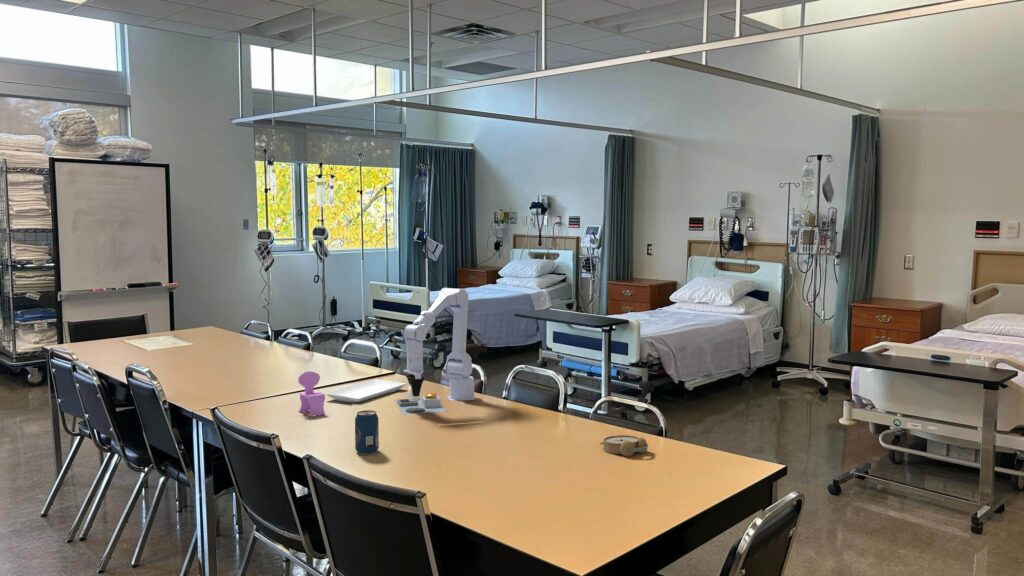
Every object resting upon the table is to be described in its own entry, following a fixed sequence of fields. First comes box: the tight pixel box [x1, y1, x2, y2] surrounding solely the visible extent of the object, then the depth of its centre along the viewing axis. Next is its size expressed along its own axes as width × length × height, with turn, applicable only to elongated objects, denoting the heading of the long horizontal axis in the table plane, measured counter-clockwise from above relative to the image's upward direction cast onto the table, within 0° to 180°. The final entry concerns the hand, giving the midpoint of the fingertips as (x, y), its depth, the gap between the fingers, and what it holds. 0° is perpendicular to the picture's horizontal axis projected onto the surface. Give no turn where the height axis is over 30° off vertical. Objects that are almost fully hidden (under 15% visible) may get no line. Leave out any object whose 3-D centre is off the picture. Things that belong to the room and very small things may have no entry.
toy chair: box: [297, 370, 326, 417], centre depth 268 cm, size 8×9×15 cm
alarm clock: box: [599, 434, 649, 458], centre depth 225 cm, size 11×5×15 cm
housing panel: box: [394, 395, 448, 415], centre depth 278 cm, size 16×22×4 cm
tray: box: [324, 378, 407, 404], centre depth 298 cm, size 17×31×4 cm, turn 152°
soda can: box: [354, 409, 380, 456], centre depth 223 cm, size 7×7×12 cm
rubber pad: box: [406, 408, 425, 414], centre depth 271 cm, size 7×7×1 cm
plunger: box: [424, 392, 438, 399], centre depth 278 cm, size 4×4×4 cm
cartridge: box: [408, 384, 421, 402], centre depth 270 cm, size 4×4×6 cm
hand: (415, 394), depth 270 cm, fingers closed on cartridge, 4 cm apart
